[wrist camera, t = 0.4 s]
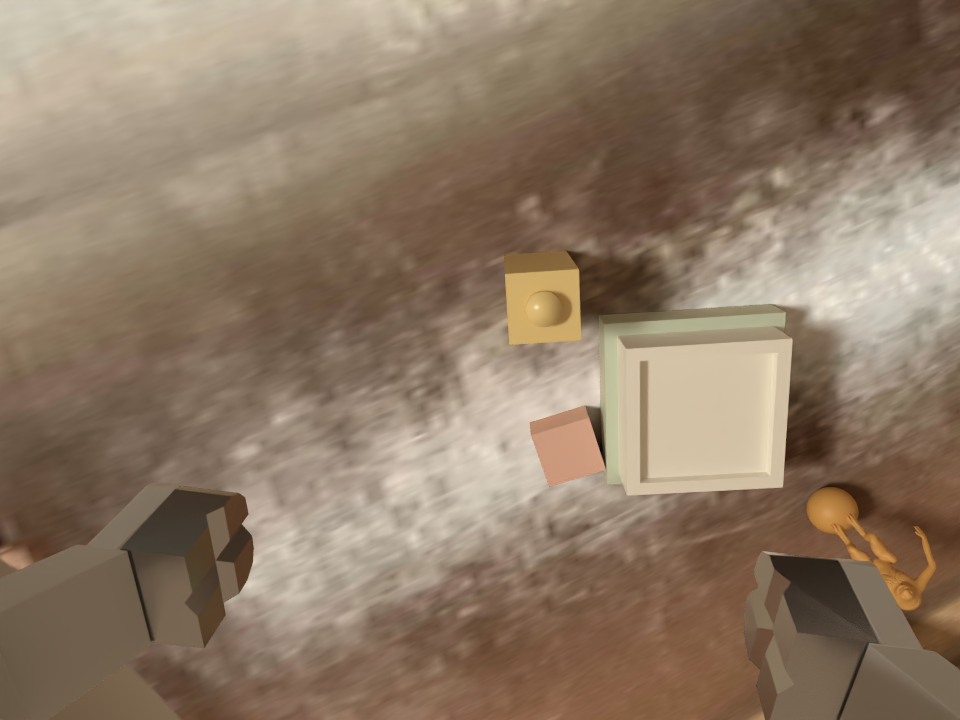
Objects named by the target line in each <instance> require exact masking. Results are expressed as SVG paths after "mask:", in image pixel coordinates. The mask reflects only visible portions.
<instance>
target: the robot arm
mask: <svg viewBox="0 0 960 720" xmlns="http://www.w3.org/2000/svg"><path fill="white" fill-rule="evenodd" d="M247 515H248V509H247V504H246V499H245V497H244V496H242V495H241V494H239V493H234V492H227V491H219V490H212V489H204V488H197V487H190V486H179V485H171V484H164V483H153V484H150V485H147V486H146V487H145V488H144V489H143V490H142V491H141V492H140V493H139V494H138V495H137V496H136V497H135V498H134V499H133V500H132V501H131V502H130V503H129V504H128V505H127V506H126V507H125V508H124V509H123V510H122V511H121V512H120V513H119V514H118V515H117V516H116V517H114V518H113V519H112V520H111V521H110V522H109V523H108V524H107V525H106V526H105V527H104V528H103V529H102V530H101V531H100V532H99V533H98V534H97V535H96V536H95V537H94V538H93V539H92V540H91V541H90V542H89V543H88V544H87V545H86V546H84V545H75V546H73V547H71V548H68V549H66V550H64V551H62V552H59V553H57V554H55V555H52V556H50V557H48V558H46V559H43V560H41V561H39V562H36V563H34V564H32V565H29V566H27V567H25V568H23V569H20V570H18V571H16V572H14V573H11V574H9V575H7V576H4V577H2V578H0V720H48V719H50V718H51V717H52V716H54V715H55V714H57V713H58V712H59V711H61V710H62V709H64V708H65V707H66V706H68V705H69V704H71V703H72V702H73V701H74V700H76V699H78V698H79V697H80V696H82V695H83V694H85V693H86V692H88V691H89V690H90V689H92V688H93V687H95V686H96V685H97V684H99V683H100V682H101V681H103V680H104V679H106V678H107V677H109V676H110V675H111V674H112V673H114V672H116V671H117V670H118V669H120V668H121V667H123V666H124V665H125V664H127V663H128V662H130V661H131V660H132V659H134V658H135V657H137V656H138V655H139V654H141V653H142V652H144V651H145V650H146V649H148V648H149V647H151V646H152V643H160V644H169V645H178V646H187V647H196V648H205V647H206V645H207V643H208V642H209V640H210V639H211V637H212V636H213V634H214V632H215V631H216V629H217V628H218V626H219V625H220V623H221V621H222V620H223V618H224V617H225V615H226V614H225V609H224V602H226V601H227V600H229V599H231V598H232V597H234V596H236V595H237V594H239V593H240V591H241V589H242V588H243V586H244V584H245V583H246V581H247V579H248V576H249V573H250V569H251V566H252V563H253V550H254V547H253V540H252V535H251V534H250V533H249V532H248V531H247V530H246V529H245V527H244V526H243V525H242V523H243V521H244V520H245V518H246V517H247ZM754 573H755V576H756V580H757V583H758V586H759V587H758V588H756V589H755V590H754V591H752V592H751V593H750V594H748V598H747V602H746V607H745V611H744V637H745V645H746V649H747V653H748V657H749V660H750V661H751V662H752V663H753V664H754V665H755V666H756V667H757V668H758V669H759V670H760V674H759V677H758V681H757V685H756V687H757V691H758V695H759V698H760V702H761V706H762V709H763V713H764V717H765V720H960V669H958V668H957V667H956V666H954V665H953V664H952V663H950V662H949V661H948V660H946V659H945V658H944V657H942V656H941V655H939V654H938V653H937V652H935V651H929V650H924V649H923V648H922V646H921V644H920V642H919V641H918V639H917V637H916V635H915V634H914V632H913V630H912V628H911V627H910V625H909V623H908V621H907V619H906V618H905V616H904V614H903V612H902V611H901V609H900V607H899V605H898V604H897V602H896V600H895V598H894V597H893V595H892V593H891V591H890V590H889V588H888V586H887V584H886V583H885V581H884V579H883V577H882V576H881V574H880V572H879V570H878V568H877V567H876V566H875V565H874V564H873V563H871V562H870V561H861V560H850V559H839V558H833V559H829V558H820V557H810V556H801V555H791V554H782V553H772V552H763V551H762V553H761V554H760V556H759V558H758V560H757V563H756V567H755V571H754Z"/></svg>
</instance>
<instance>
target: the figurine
mask: <svg viewBox="0 0 960 720" xmlns="http://www.w3.org/2000/svg"><path fill="white" fill-rule="evenodd" d="M807 514H808V517H809V519H810V521H811V522H812V524H813V525H814V526H815V527H817V528H818V529H819V530H821V531H823V532H826V533H830V534H838V535H839V536H840V538H841V539H842V540H843V541H844V542H845V544H846V545H847V546H846V548H847V550H848V551H849V553H850V555H851V557H852V558H853V560H861V561H870V562H871V563H873V564H874V565H875V566H876V567H877V568H878V570H879V572H880V574H881V576H882V577H883V579H884V581H885V583H886V584H887V586H888V588H889V590H890V591H891V593H892V595H893V597H894V598H895V600H896V602H897V604H898V605H899V607H900V608H901V609H904V610H913V609H916V608H917V607H918V606H919V605H920V604H921V601H922V598H921V593H922V591H923V590H924V589H925V587H926V585H927V582H928V580H929V579H930V578H931V577H932V575H933V574H934V572H935V570H936V562H935V560H934V558H933V556H932V552H931V549H930V545H929V543H928V540H927V537H926V535H925V534H924V532H923V531H922V530H921V529H920V528H919V527H918V526H916V527H917V528H916V527H915V526H914V528H915V529H916V530H917V532H918V533H917V532H915V533H916V534H917V535H919V536H920V537H921V538H922V545H923V549H924V552H925V554H926V559H927V561H928V563H929V565H928V566H927V567H926V568H925V569H924V570H923V572H922V573H921V574H920V575H919V576H918V577H917V578H916V579H912V578H911V577H909V576H908V575H907V574H906V573H904V572H901V571H899V570H897V569H895V568H894V567H892V566H891V563H896V562H897V557H896V556H895V555H893V554H892V553H891V552H890V551H889V550H888V549H887V547H886V546H885V544H884V543H883V542H882V541H881V540H880V539H879V538H878V537H877V536H876V535H875V534H873V533H866V532H865V530H864V529H863V528H862V527H861V525H860V524H859V523H858V521H857V519H858V514H859V511H858V506H857V503H856V502H855V500H854V498H853V497H852V496H851V495H850V494H849V493H847V492H846V491H844V490H842V489H840V488H836V487H824V488H821V489H818V490H817V491H815V492H814V493H813V494H812V495H811V496H810V497H809V499H808V502H807ZM852 527H854V528H855V529H856V530H857V531H858V532H859V533H860V534H861V535H862V536H863V537H864V539H865V540H866V541H868V542H870V543H871V549H872V551H873V553H874V554H875V555H876V556H878V557H879V559H874V561H873V562H872V561H871V559H870V557H869V556H868V555H867V554H866V553H865V552H863V551H861V550H858V549H857V548H856V546H855V545H854V544H852V542H851V541H850V539H849V538H848V537H847V535H846V534H845V533H844V532H847V531H848V530H850V529H851V528H852Z"/></svg>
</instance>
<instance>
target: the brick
mask: <svg viewBox="0 0 960 720" xmlns="http://www.w3.org/2000/svg"><path fill="white" fill-rule="evenodd" d="M530 429H531V436H532V439H533V442H534V445H535V448H536V451H537V453H538V456H539V459H540V462H541V465H542V468H543V470H544V473H545V476H546V479H547V482H548V484H549V487H550V486H553V485H557V484H560V483H563V482H567V481H570V480H574V479H577V478H580V477H584V476H587V475H590V474H594V473H597V472H601V471H604V470H606V468H605V465H604V462H603V459H602V456H601V453H600V450H599V447H598V444H597V441H596V437H595V434H594V431H593V428H592V425H591V422H590V419H589V416H588V413H587V410H586V407H585V406H581V407H578V408H575V409H572V410H569V411H565V412H562V413H559V414H556V415H553V416H549V417H546V418H543V419H540V420H537V421H533V422H530Z"/></svg>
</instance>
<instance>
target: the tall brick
mask: <svg viewBox="0 0 960 720" xmlns="http://www.w3.org/2000/svg"><path fill="white" fill-rule="evenodd" d="M504 265H505V281H506V297H507V313H508V329H509V345H513V344H529V343H545V342H561V341H577V340H581V323H580V288H579V268H578V267H577V266H576V264H575V263H574V261H573V260H572V259H571V257H570V256H569V254H568V253H567V251H553V252H539V253H524V254H510V255H504Z"/></svg>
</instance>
